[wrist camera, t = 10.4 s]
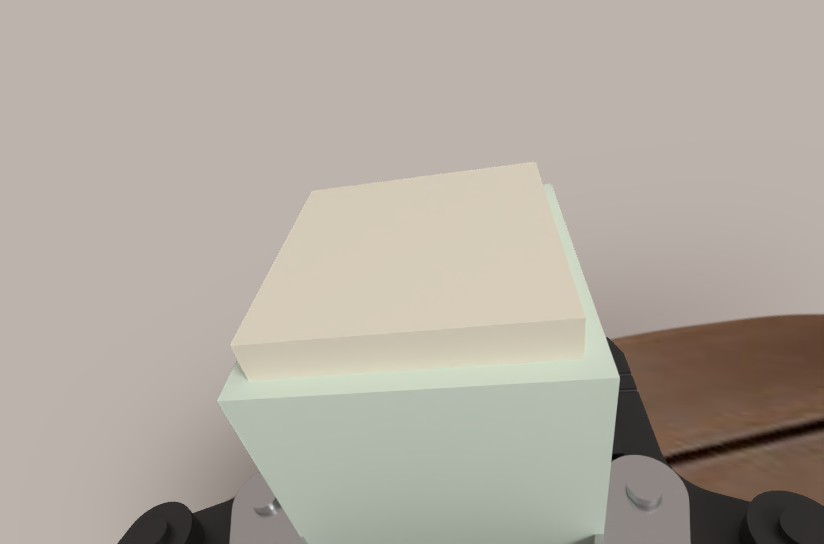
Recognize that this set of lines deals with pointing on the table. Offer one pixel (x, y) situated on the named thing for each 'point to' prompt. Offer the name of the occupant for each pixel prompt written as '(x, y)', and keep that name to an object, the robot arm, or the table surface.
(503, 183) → the sage tin
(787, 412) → the table surface
